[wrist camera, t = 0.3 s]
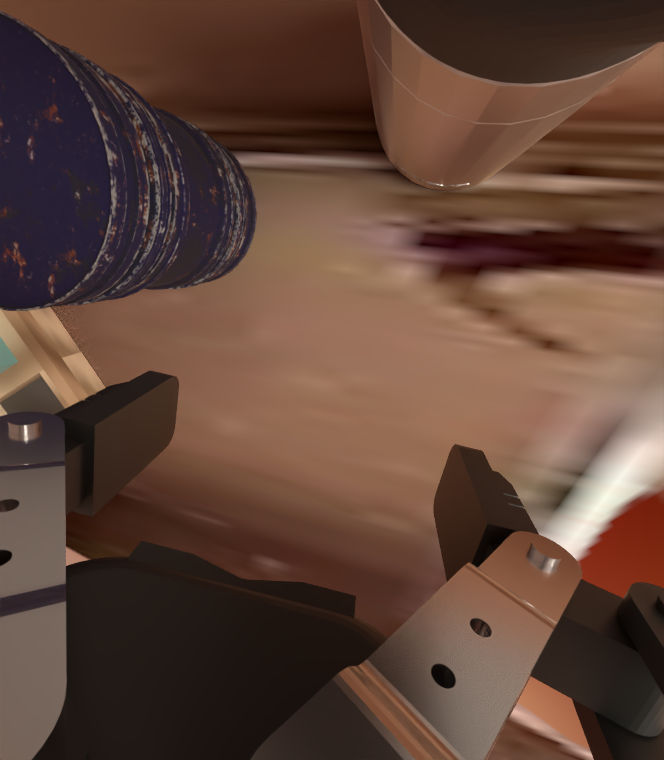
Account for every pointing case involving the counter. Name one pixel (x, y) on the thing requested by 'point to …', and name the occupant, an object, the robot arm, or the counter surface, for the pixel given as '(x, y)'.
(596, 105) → the counter surface
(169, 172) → the navy cylinder
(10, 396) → the box
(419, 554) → the counter surface
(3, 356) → the teal block
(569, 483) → the counter surface
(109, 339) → the counter surface
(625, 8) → the robot arm
